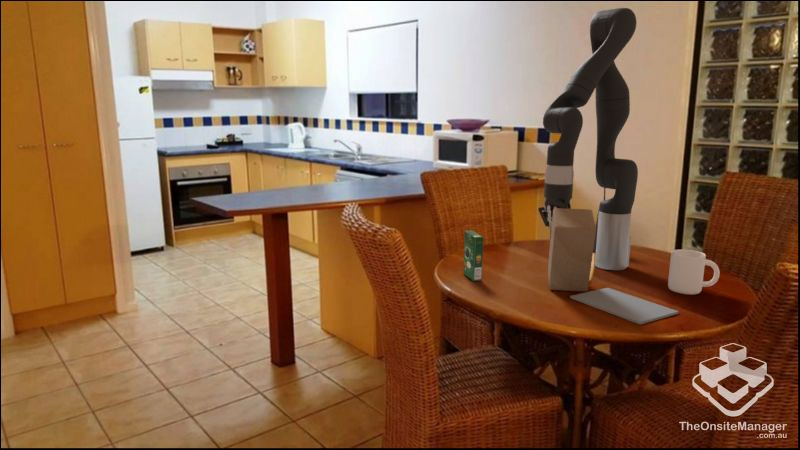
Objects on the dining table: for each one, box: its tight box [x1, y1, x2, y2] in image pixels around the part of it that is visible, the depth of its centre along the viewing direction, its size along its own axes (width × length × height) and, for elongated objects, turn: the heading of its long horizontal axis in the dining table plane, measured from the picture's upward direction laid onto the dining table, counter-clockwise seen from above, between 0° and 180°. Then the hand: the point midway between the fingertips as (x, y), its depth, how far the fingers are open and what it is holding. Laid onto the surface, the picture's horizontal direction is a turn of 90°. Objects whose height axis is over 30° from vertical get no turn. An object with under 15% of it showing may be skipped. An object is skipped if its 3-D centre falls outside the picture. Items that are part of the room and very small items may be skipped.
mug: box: [667, 249, 721, 295], centre depth 153 cm, size 12×8×10 cm
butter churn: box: [593, 188, 607, 253], centre depth 192 cm, size 9×10×28 cm
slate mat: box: [569, 287, 680, 325], centre depth 143 cm, size 14×21×1 cm, turn 30°
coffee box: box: [462, 230, 485, 282], centre depth 164 cm, size 8×3×13 cm, turn 16°
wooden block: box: [547, 208, 596, 293], centre depth 153 cm, size 10×10×20 cm
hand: (555, 243), depth 161 cm, fingers closed
